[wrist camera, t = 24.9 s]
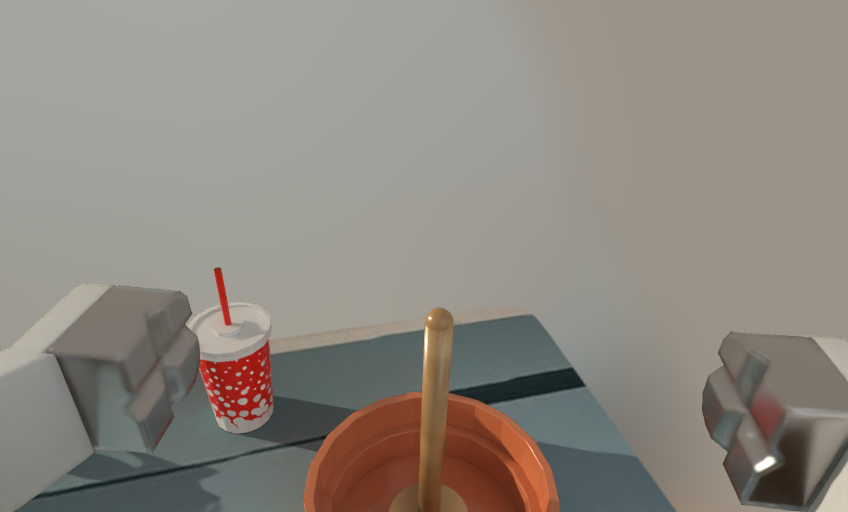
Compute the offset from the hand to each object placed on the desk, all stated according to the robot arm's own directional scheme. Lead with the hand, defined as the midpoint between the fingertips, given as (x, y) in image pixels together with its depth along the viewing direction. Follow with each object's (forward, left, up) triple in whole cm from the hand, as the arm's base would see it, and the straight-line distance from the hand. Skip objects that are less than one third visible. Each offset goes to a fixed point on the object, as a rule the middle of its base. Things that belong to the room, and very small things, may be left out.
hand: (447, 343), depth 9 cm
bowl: (-1, -15, -30) cm, 34 cm away
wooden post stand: (-1, -15, -29) cm, 33 cm away
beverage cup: (+14, -26, -30) cm, 42 cm away
